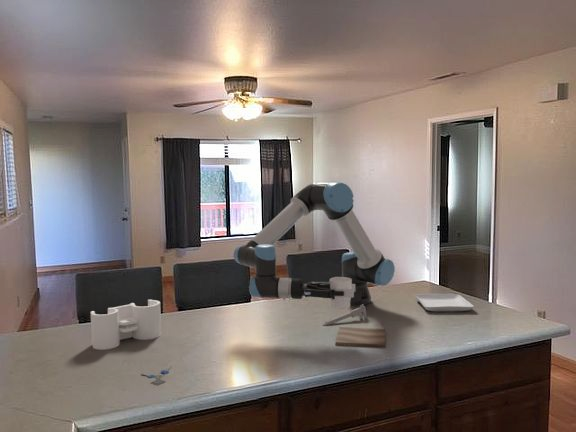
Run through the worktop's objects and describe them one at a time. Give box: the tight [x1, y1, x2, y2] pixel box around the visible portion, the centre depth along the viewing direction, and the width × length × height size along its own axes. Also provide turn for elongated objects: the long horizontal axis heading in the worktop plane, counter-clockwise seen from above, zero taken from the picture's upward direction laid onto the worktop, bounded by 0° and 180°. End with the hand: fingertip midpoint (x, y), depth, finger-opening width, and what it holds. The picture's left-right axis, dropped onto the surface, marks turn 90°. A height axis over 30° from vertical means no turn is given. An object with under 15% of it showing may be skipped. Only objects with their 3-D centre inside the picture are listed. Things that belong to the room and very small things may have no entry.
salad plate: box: [413, 293, 475, 312], centre depth 216 cm, size 21×21×3 cm
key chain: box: [141, 365, 172, 386], centre depth 145 cm, size 14×8×1 cm, turn 4°
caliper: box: [322, 304, 367, 327], centre depth 195 cm, size 20×1×6 cm, turn 117°
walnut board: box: [335, 326, 386, 349], centre depth 176 cm, size 17×17×1 cm
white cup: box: [329, 276, 352, 310], centre depth 175 cm, size 8×8×10 cm
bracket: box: [90, 299, 162, 351], centre depth 176 cm, size 25×10×12 cm, turn 132°
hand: (354, 290), depth 173 cm, fingers closed on white cup, 8 cm apart
